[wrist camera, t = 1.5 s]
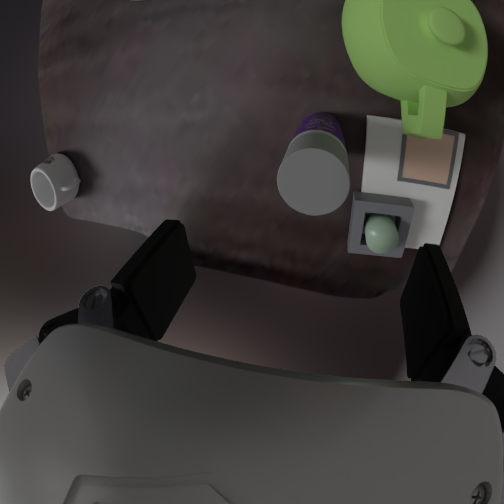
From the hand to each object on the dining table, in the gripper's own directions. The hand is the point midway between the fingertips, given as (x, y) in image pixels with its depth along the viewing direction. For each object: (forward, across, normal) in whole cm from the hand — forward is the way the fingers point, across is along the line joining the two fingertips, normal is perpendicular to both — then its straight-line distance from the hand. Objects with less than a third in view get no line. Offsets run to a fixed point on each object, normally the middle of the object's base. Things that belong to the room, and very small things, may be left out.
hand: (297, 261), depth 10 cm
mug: (+22, +43, +4) cm, 49 cm away
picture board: (+22, -11, +5) cm, 25 cm away
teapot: (+22, -9, -12) cm, 27 cm away
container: (+22, 0, 0) cm, 22 cm away
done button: (+20, -8, +10) cm, 24 cm away
